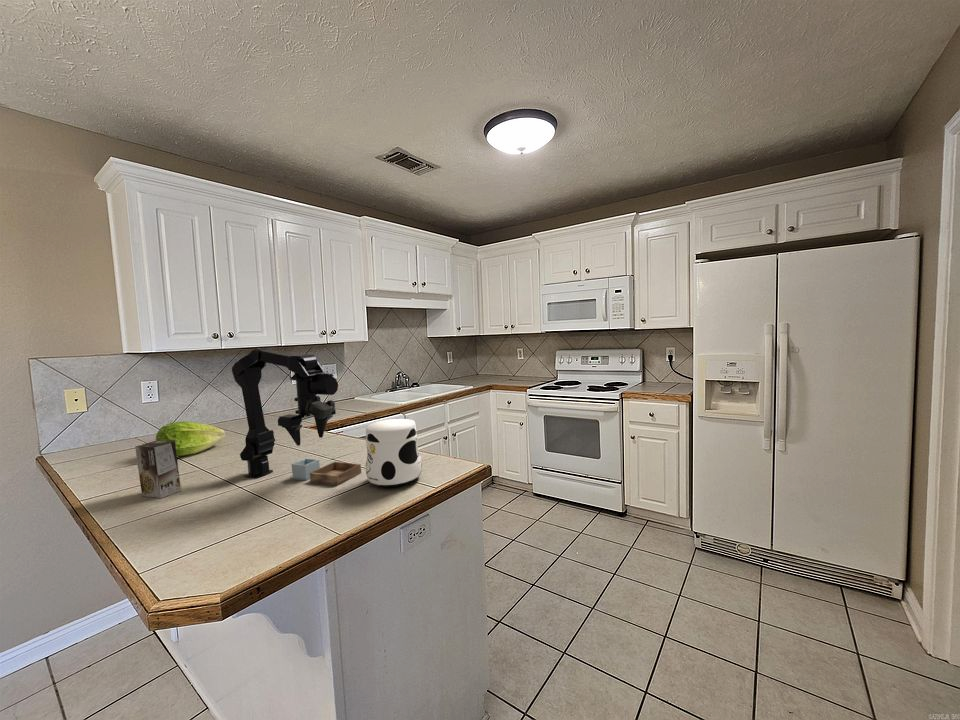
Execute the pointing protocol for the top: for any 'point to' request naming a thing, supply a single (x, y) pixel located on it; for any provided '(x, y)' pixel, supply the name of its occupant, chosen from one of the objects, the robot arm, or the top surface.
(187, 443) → the lettuce
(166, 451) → the coffee box
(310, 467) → the small crate
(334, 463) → the brown wooden tray
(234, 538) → the top surface
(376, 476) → the milk container
